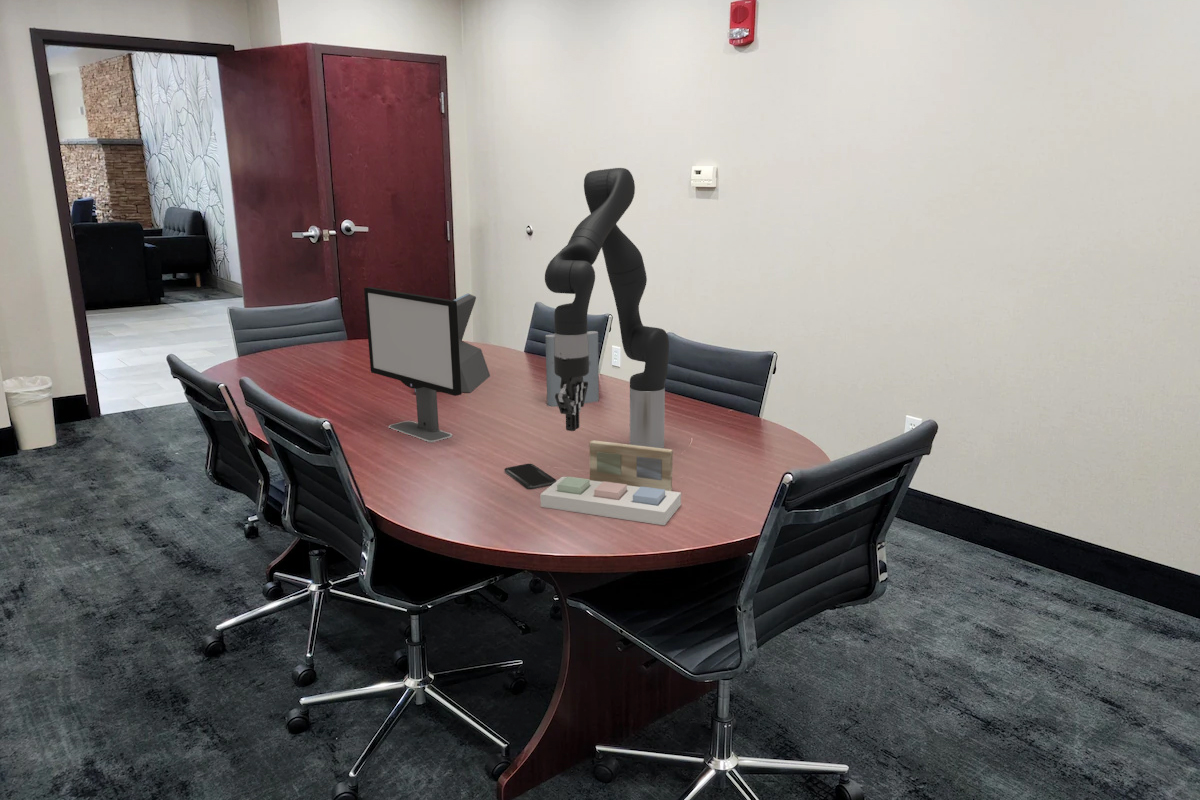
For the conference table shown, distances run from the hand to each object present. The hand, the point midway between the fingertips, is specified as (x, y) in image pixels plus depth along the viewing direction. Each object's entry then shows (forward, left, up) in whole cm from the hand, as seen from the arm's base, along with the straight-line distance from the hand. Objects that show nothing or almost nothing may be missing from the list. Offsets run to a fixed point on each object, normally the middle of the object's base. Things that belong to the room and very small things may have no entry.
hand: (572, 429), depth 188 cm
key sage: (0, 0, -15) cm, 15 cm away
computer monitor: (-32, -62, -17) cm, 72 cm away
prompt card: (-13, +9, -17) cm, 23 cm away
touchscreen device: (-85, -83, -17) cm, 120 cm away
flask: (-76, -33, -17) cm, 85 cm away
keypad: (0, +9, -17) cm, 19 cm away
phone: (-10, -16, -18) cm, 26 cm away
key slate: (0, +18, -15) cm, 24 cm away
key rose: (0, +9, -15) cm, 18 cm away
